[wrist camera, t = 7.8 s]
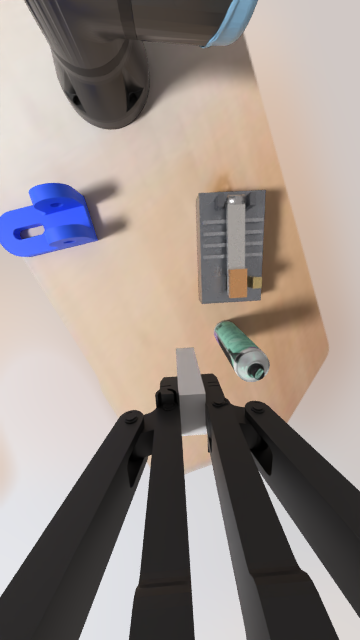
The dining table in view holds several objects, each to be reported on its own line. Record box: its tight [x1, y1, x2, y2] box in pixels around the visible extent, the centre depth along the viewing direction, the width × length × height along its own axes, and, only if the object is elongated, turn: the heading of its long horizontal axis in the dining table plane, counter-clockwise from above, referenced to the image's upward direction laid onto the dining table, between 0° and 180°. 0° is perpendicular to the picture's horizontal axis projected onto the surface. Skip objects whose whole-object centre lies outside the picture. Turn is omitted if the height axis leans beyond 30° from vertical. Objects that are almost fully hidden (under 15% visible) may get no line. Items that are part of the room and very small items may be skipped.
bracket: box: [0, 183, 98, 257], centre depth 38 cm, size 18×8×9 cm, turn 103°
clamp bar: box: [226, 194, 247, 298], centre depth 37 cm, size 17×3×3 cm, turn 3°
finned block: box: [196, 190, 266, 304], centre depth 41 cm, size 20×12×9 cm, turn 3°
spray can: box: [214, 321, 270, 382], centre depth 40 cm, size 6×6×20 cm
